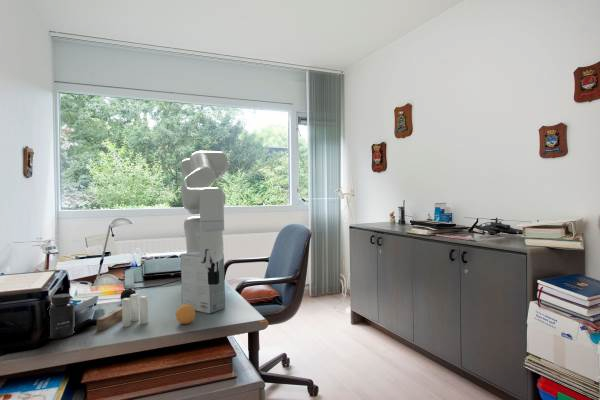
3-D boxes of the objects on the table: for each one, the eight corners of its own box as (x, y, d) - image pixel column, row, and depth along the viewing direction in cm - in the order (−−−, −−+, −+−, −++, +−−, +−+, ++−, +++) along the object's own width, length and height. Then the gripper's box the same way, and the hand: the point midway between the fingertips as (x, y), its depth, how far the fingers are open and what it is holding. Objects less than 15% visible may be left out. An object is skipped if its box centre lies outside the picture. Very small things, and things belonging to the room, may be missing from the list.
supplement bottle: (61, 340, 107) (60, 299, 107) (42, 339, 109) (40, 298, 109) (80, 331, 114) (79, 292, 114) (61, 330, 115) (60, 292, 115)
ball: (180, 320, 123) (180, 302, 123) (198, 320, 122) (197, 302, 122) (172, 326, 117) (172, 307, 117) (191, 326, 116) (190, 307, 116)
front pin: (142, 321, 122) (141, 295, 122) (149, 321, 122) (148, 295, 122) (138, 324, 120) (137, 297, 119) (145, 324, 119) (145, 297, 119)
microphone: (121, 300, 159) (124, 306, 141) (116, 288, 158) (118, 293, 141) (134, 295, 161) (138, 300, 144) (129, 282, 161) (133, 286, 144)
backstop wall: (122, 315, 129) (122, 305, 129) (128, 315, 128) (127, 305, 128) (96, 330, 115) (96, 319, 115) (103, 330, 114) (102, 319, 114)
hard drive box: (226, 308, 134) (224, 253, 134) (210, 314, 128) (208, 256, 127) (197, 302, 143) (196, 250, 143) (181, 307, 137) (179, 253, 136)
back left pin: (125, 324, 120) (124, 298, 120) (132, 324, 120) (131, 298, 119) (120, 326, 117) (120, 300, 117) (128, 326, 117) (127, 300, 117)
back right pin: (133, 319, 125) (132, 293, 125) (140, 319, 125) (139, 293, 124) (129, 321, 122) (128, 295, 122) (136, 321, 122) (135, 295, 122)
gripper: (208, 224, 126) (210, 278, 126) (191, 228, 111) (193, 289, 111) (230, 224, 125) (231, 278, 125) (216, 228, 110) (218, 289, 110)
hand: (213, 283), depth 118 cm, fingers closed
